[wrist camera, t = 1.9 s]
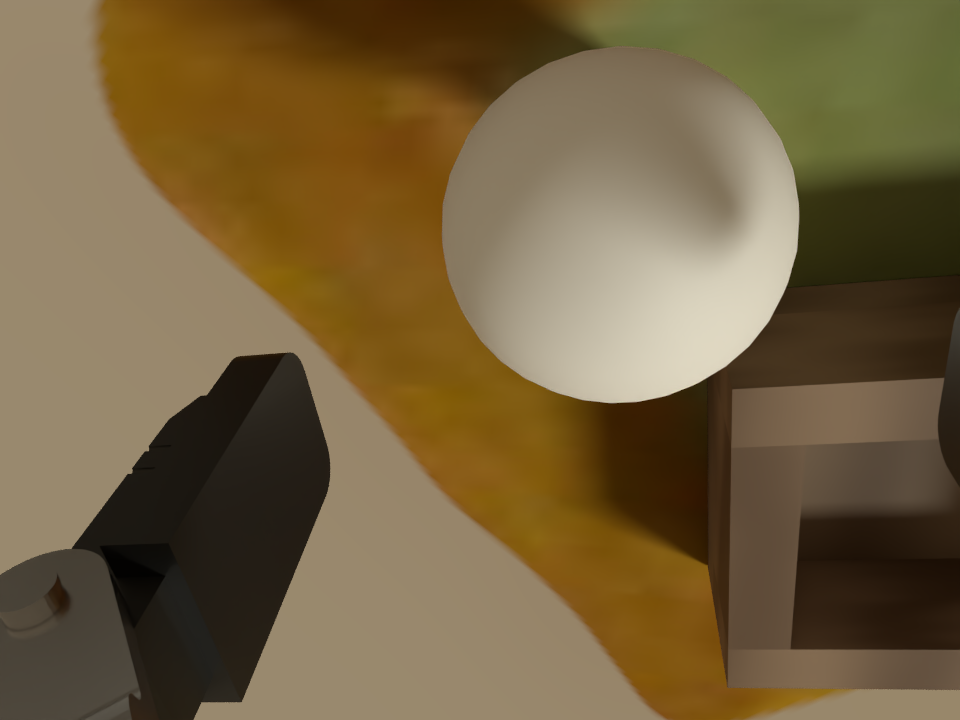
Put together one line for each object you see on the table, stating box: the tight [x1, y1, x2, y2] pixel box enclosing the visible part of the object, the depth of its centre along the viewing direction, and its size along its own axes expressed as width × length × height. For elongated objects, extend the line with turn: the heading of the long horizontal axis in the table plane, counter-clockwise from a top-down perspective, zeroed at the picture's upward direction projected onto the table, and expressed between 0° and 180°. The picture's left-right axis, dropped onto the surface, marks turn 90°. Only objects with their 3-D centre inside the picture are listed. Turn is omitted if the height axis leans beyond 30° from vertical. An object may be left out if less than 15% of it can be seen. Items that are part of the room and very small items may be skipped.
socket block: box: [707, 275, 960, 690], centre depth 23 cm, size 11×11×5 cm
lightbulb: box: [442, 46, 799, 403], centre depth 16 cm, size 6×6×11 cm
